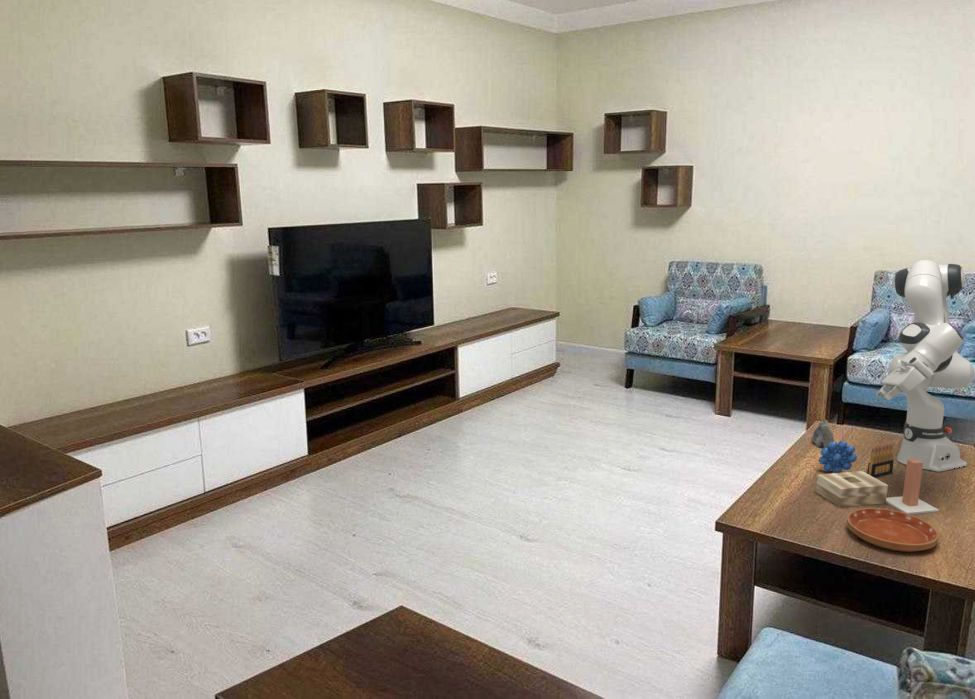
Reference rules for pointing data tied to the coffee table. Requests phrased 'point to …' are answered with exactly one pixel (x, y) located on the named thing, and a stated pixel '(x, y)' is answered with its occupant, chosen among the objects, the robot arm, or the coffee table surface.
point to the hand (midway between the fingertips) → (881, 397)
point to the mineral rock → (823, 435)
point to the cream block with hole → (851, 489)
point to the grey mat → (907, 509)
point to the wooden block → (912, 482)
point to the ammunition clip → (881, 460)
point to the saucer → (892, 529)
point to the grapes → (837, 456)
